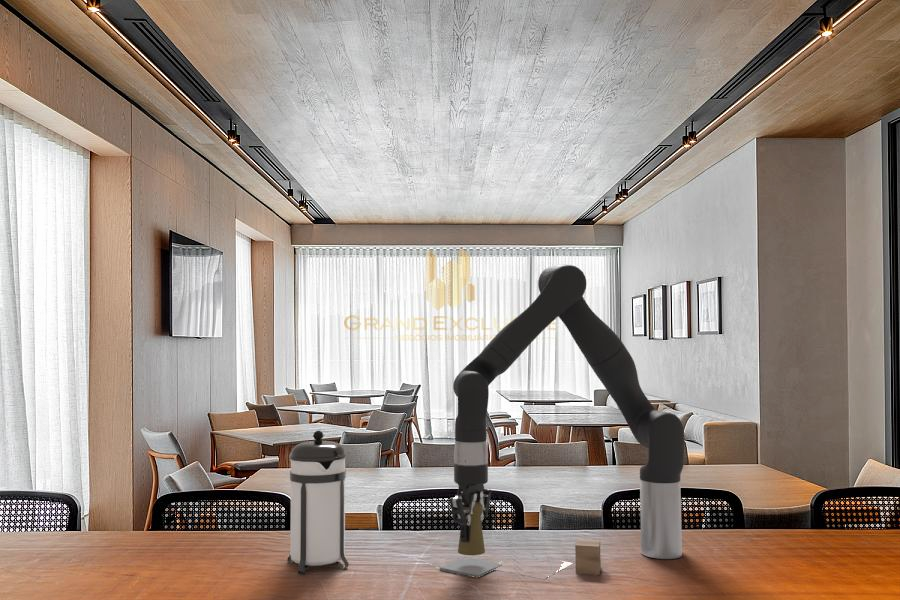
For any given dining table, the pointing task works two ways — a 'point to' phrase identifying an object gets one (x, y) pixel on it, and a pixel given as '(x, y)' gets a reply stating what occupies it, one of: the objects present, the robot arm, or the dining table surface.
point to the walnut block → (587, 556)
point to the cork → (474, 534)
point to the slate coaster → (470, 566)
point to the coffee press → (317, 504)
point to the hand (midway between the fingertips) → (471, 539)
